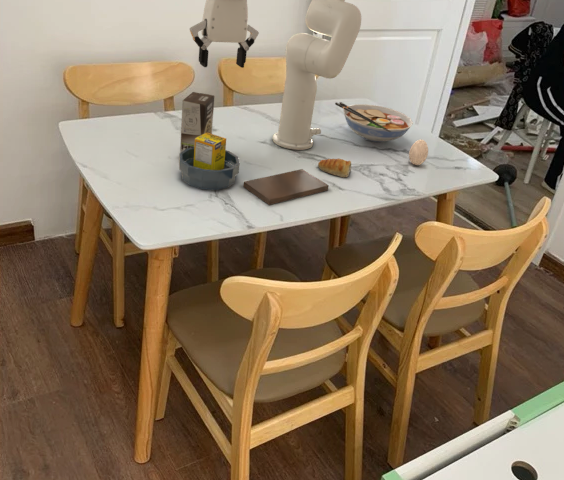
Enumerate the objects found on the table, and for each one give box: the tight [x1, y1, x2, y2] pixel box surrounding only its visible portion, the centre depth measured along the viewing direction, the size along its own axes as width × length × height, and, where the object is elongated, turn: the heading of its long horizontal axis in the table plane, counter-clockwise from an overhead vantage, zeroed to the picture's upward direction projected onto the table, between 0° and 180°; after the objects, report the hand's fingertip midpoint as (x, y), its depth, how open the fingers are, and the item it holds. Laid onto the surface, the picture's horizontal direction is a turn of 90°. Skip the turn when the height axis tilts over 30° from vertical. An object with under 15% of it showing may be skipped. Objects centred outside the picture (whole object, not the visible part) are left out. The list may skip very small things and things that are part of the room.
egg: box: [408, 139, 429, 166], centre depth 182 cm, size 6×6×8 cm
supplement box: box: [194, 133, 227, 170], centre depth 155 cm, size 6×6×11 cm
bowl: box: [178, 147, 241, 191], centre depth 156 cm, size 15×15×6 cm
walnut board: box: [242, 168, 330, 206], centre depth 158 cm, size 20×11×2 cm, turn 129°
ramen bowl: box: [334, 101, 414, 143], centre depth 197 cm, size 25×23×8 cm
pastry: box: [317, 158, 352, 178], centre depth 171 cm, size 9×7×4 cm
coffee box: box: [179, 91, 216, 159], centre depth 165 cm, size 9×6×16 cm
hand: (222, 65), depth 147 cm, fingers open, 9 cm apart
